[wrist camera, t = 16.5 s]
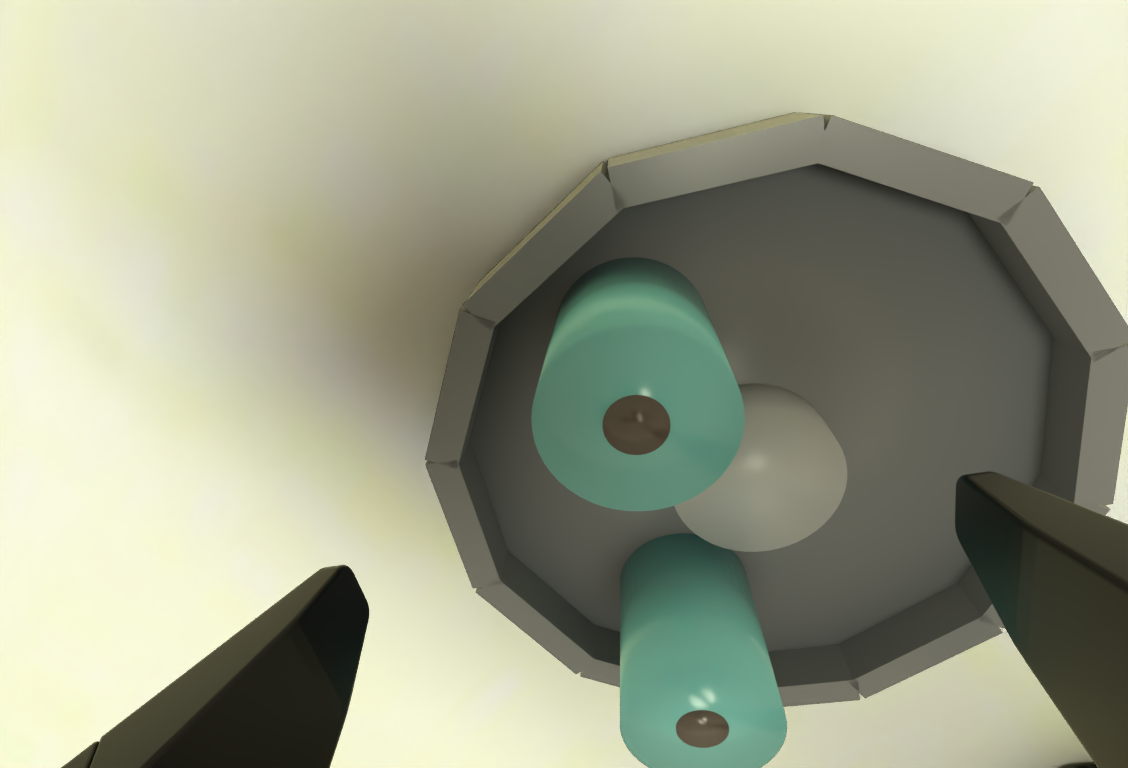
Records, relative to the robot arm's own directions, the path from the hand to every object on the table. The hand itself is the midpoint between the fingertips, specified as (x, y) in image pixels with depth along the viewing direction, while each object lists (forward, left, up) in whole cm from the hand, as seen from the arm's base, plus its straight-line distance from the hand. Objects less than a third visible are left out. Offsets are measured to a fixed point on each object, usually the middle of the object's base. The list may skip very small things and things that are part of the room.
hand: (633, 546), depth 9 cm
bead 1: (0, 0, -10) cm, 10 cm away
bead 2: (0, +10, -10) cm, 14 cm away
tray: (-3, +5, -11) cm, 12 cm away
